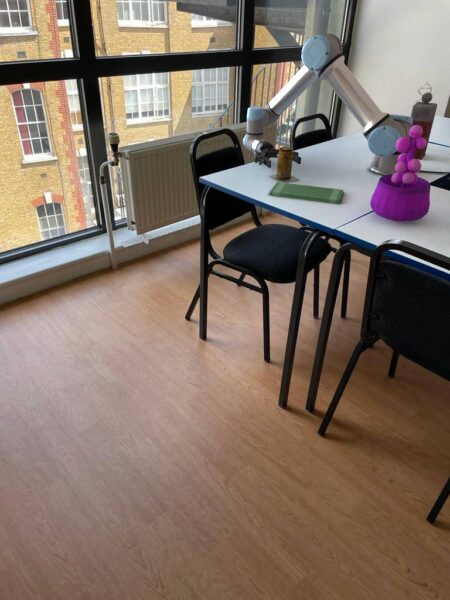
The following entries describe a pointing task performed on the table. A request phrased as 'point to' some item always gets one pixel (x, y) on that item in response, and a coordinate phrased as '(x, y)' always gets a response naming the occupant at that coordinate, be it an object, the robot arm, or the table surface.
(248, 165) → the table surface
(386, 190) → the decorative plant
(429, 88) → the dna model
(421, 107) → the glass decanter
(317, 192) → the towel
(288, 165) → the condiment
